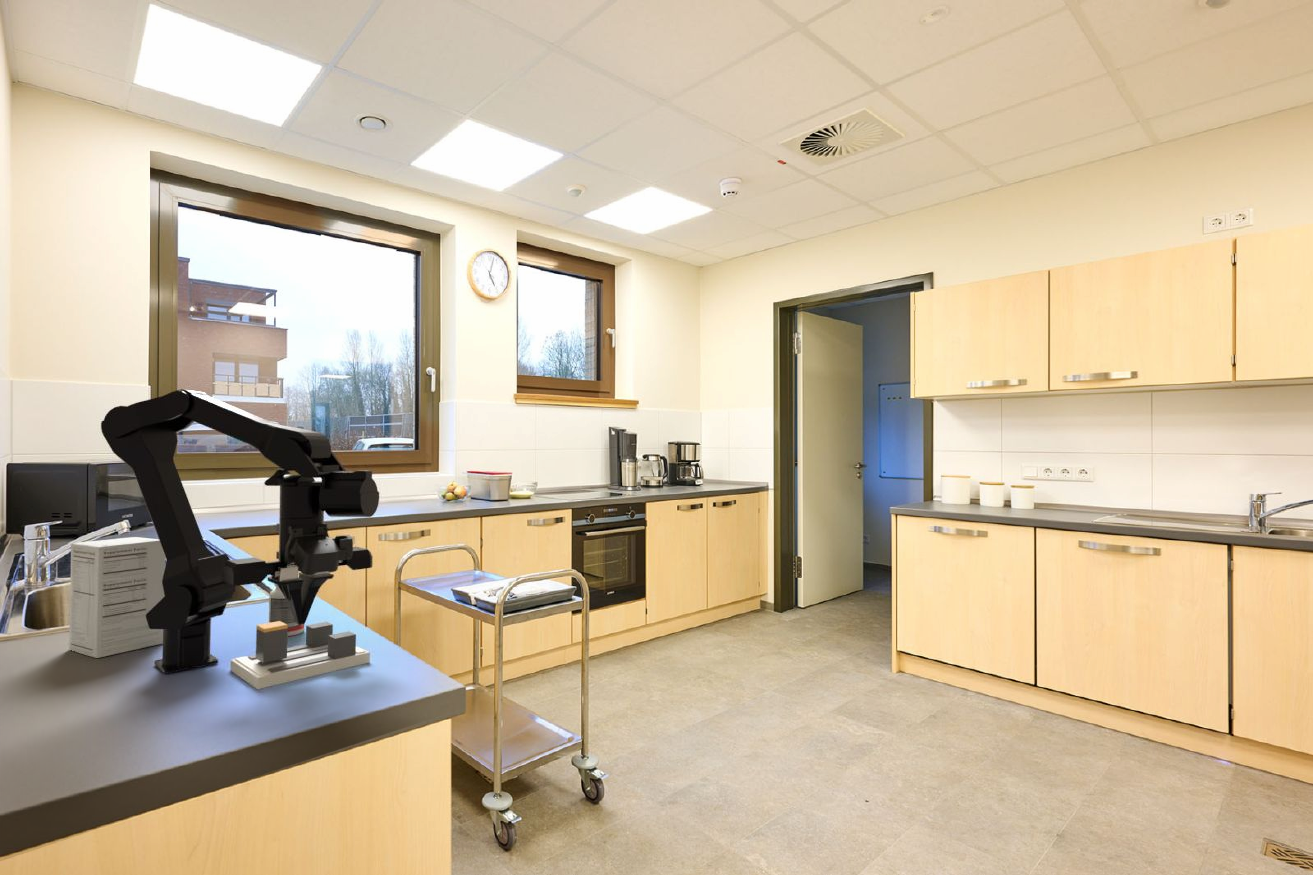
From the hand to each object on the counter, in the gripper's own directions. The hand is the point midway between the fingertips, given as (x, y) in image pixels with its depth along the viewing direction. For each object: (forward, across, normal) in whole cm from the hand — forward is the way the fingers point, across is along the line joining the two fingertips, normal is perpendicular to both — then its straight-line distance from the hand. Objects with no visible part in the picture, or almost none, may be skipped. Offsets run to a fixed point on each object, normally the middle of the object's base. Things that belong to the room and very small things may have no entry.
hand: (300, 623), depth 95 cm
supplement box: (+6, -16, +31) cm, 36 cm away
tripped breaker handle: (+4, -4, 0) cm, 6 cm away
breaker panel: (+6, 0, 0) cm, 6 cm away
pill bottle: (+6, +5, +20) cm, 22 cm away
